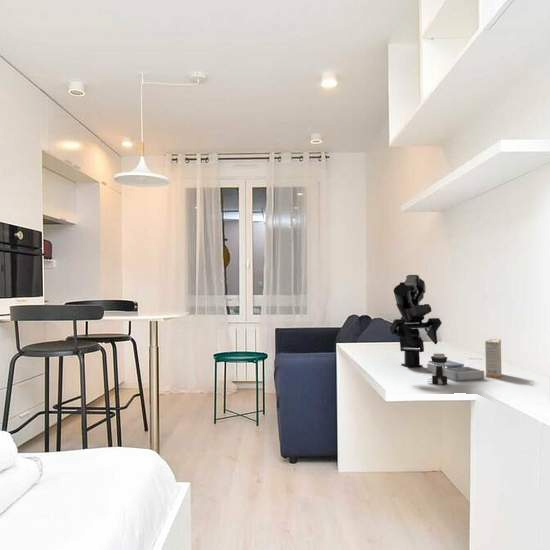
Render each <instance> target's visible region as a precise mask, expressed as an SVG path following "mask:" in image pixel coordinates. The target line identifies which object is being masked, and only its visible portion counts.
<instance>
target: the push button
mask: <svg viewBox="0 0 550 550" xmlns="http://www.w3.org/2000/svg"><path fill="white" fill-rule="evenodd" d="M430 358H431V361H432V362H434V364H433V365H434V373H432V375H431V378H430V380H431V381H429V380H428V381H426V382H427V383H432V384H433V385H448V379H447V377H446V376H443V375H446V374H445V368H446V367H445V363H446V362H447V360H448V357H447V356H446V355H445V353H433V355H432V356H430ZM436 364H437V365H436ZM442 364H443V366H442ZM442 367H443V370H442Z"/></svg>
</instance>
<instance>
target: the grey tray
mask: <svg viewBox="0 0 550 550" xmlns="http://www.w3.org/2000/svg"><path fill="white" fill-rule="evenodd" d="M426 365H427V368H426V370H427V372H428V373H431V374H433V373H434V364H432V363H427V364H426ZM442 370H443V366H442ZM445 374H446V375H443V376H446V377H447V380H451V381H454V382H465V381H466V382H467V381H477V380H478V381H480V380H485V371H484V370H481V369H478V368H474V367H470V366H465V365H464V366H450V367H445Z"/></svg>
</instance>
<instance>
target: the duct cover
mask: <svg viewBox="0 0 550 550" xmlns="http://www.w3.org/2000/svg"><path fill="white" fill-rule="evenodd" d="M428 364H432V365H434V362H432V360H428ZM436 366H437V364H436ZM450 366H464V367H465V364H463V363H462V362H461V363H459V362H456V361H452V360H448V359H447V362H446V363H445V368H447V367H450ZM442 367H443V364H442Z"/></svg>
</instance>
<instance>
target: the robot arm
mask: <svg viewBox="0 0 550 550" xmlns="http://www.w3.org/2000/svg"><path fill="white" fill-rule="evenodd" d="M405 277H406V279H405V281H403V282H399V284H398V285H395V286H394V288H393V294H394V299H395V302H396V304H395V305H396V309H398V311H399V314H400V315H401V317H400V318H396V319H394V320H393V322H392V323H391V325H390V327H389V331H390V334H392V335H395V336H397V337H399V349H400V352H403V353H404V354H403V355H404V363H401V366H403V367H407V368H421V367H424V366H423V364H421V363H420V362H421V360H420V359H421V357H420V353H423V352H424V353H425V344H424V340H423V338H422V337H421V332H420V329H424V332H426V335H427V336H428V338H429V339H430V340H431V341H432V343H433V344H434V345H437V344H438V337H437V336H438V335H437V331H438V329H439V328H440V327H441V325H442V321H441V319H440V318H439V317H430V318H428V319H427V321H426V322H423V321H424V319H425V316H426V315H428V314H430V313H431V312H432V308H431V305H430V304H429V303H425V304H420V302H421V301H422V300H423V299H424V296H425V293H426V283H425V280H423V279H422V278H421V277H420V275H419V274H408V275H406V276H405Z"/></svg>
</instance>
